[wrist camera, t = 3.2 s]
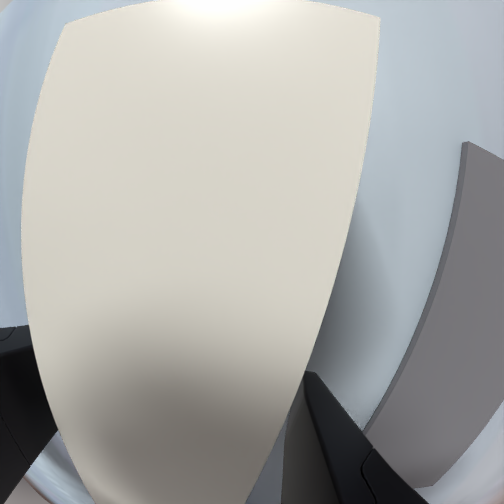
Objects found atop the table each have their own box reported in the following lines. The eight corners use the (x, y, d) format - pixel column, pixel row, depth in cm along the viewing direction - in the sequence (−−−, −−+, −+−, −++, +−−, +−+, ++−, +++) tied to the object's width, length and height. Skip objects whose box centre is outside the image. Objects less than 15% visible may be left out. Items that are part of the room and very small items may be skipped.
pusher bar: (161, 433, 11) (108, 523, 6) (198, 109, 8) (65, 23, 2) (240, 458, 11) (210, 561, 5) (327, 130, 8) (380, 18, 2)
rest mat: (323, 484, 10) (323, 490, 10) (462, 142, 7) (468, 141, 6) (431, 480, 10) (432, 485, 9) (566, 207, 6) (572, 208, 6)
